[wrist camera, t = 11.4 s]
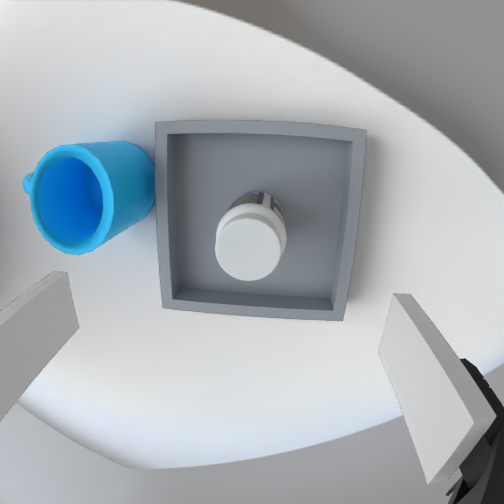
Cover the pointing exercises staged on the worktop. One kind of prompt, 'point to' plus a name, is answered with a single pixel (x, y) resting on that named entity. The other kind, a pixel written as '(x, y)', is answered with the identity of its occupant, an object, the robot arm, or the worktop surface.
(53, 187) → the mug
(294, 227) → the tray
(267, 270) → the pill bottle
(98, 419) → the worktop surface
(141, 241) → the worktop surface
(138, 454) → the worktop surface
